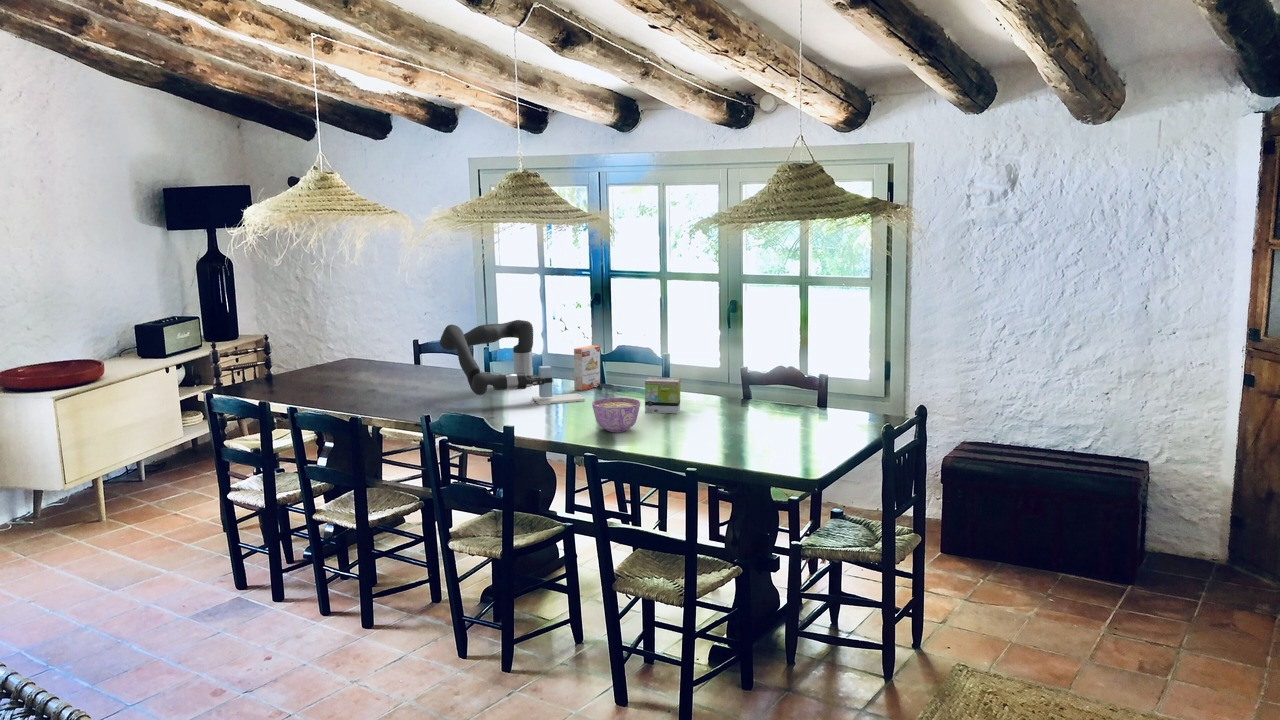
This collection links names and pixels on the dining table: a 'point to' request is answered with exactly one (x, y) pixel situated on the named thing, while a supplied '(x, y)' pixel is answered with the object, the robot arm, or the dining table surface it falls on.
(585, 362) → the cracker box
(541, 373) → the blue block
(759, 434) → the dining table surface
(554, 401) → the cream tile
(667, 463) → the dining table surface
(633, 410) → the bowl of food
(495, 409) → the dining table surface
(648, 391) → the tea box
